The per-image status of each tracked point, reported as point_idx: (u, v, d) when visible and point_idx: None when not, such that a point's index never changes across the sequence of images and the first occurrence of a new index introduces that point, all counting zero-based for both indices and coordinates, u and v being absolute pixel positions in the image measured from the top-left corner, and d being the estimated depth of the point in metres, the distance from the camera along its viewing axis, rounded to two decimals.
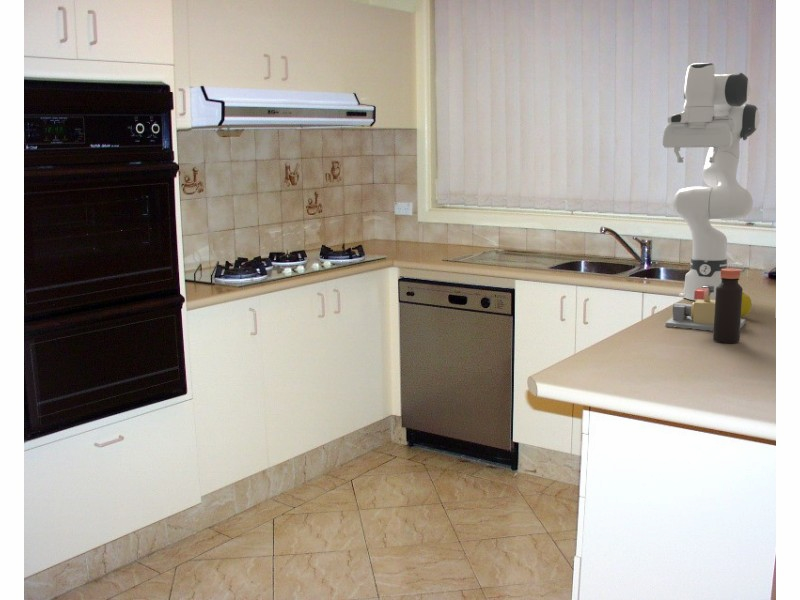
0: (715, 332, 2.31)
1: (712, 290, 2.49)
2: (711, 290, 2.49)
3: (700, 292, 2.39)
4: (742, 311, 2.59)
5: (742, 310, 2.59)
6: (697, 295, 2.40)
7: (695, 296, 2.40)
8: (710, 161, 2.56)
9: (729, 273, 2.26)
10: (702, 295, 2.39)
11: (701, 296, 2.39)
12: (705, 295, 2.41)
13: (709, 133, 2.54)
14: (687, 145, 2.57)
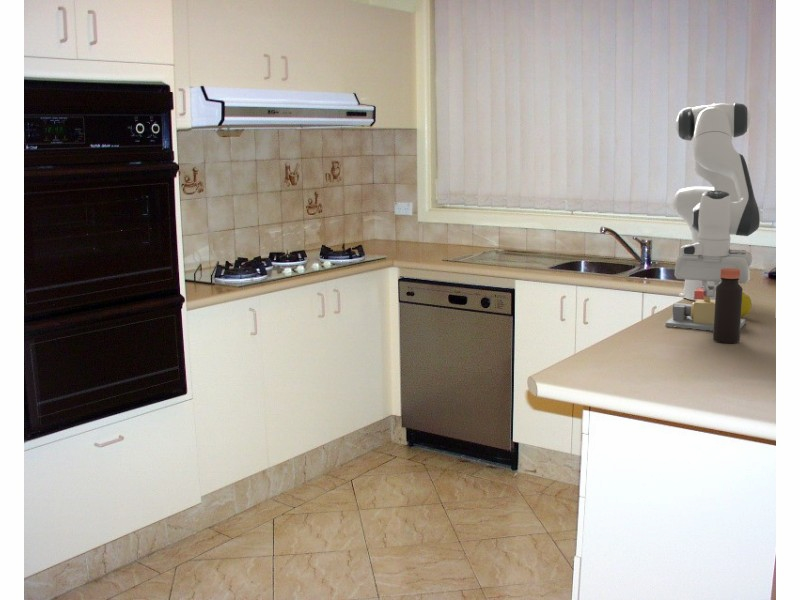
0: (715, 332, 2.31)
1: None
2: None
3: (700, 292, 2.39)
4: (742, 311, 2.59)
5: (742, 310, 2.59)
6: (697, 295, 2.40)
7: (695, 296, 2.40)
8: (710, 295, 2.40)
9: (729, 273, 2.26)
10: (702, 295, 2.39)
11: (701, 296, 2.39)
12: None
13: None
14: (701, 278, 2.39)
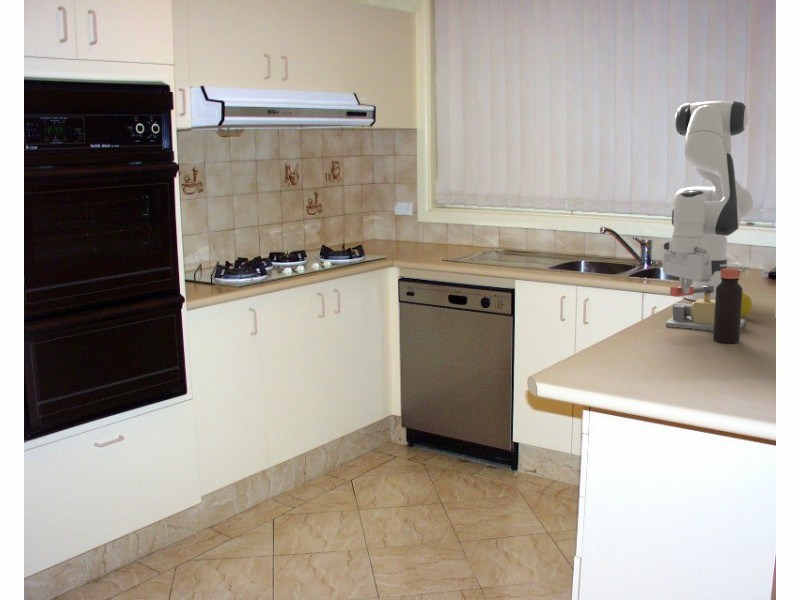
0: (715, 332, 2.31)
1: (708, 290, 2.49)
2: (707, 290, 2.49)
3: (673, 288, 2.45)
4: (742, 311, 2.59)
5: (742, 310, 2.59)
6: (672, 291, 2.46)
7: (670, 292, 2.47)
8: (682, 291, 2.45)
9: (729, 273, 2.26)
10: (675, 292, 2.45)
11: (674, 292, 2.45)
12: None
13: (689, 265, 2.39)
14: (676, 274, 2.46)
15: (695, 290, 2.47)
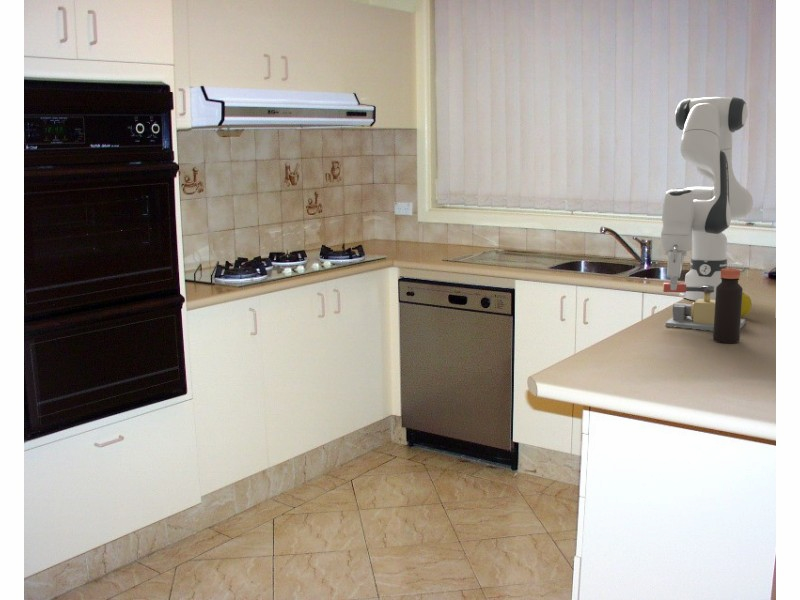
0: (715, 332, 2.31)
1: (705, 290, 2.49)
2: (703, 290, 2.49)
3: (663, 284, 2.53)
4: (742, 311, 2.59)
5: (742, 310, 2.59)
6: (663, 287, 2.53)
7: None
8: None
9: (729, 273, 2.26)
10: (663, 287, 2.52)
11: (663, 288, 2.52)
12: None
13: None
14: None
15: (689, 288, 2.50)
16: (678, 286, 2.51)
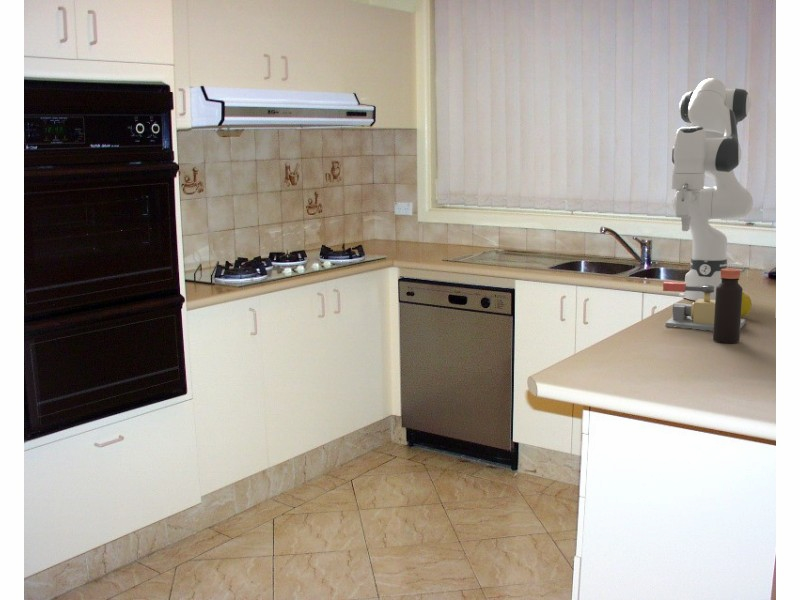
0: (715, 332, 2.31)
1: (704, 290, 2.49)
2: (703, 290, 2.49)
3: None
4: (742, 311, 2.59)
5: (742, 310, 2.59)
6: None
7: None
8: None
9: (729, 273, 2.26)
10: (663, 286, 2.54)
11: (663, 287, 2.54)
12: (671, 288, 2.53)
13: None
14: None
15: (688, 288, 2.51)
16: (677, 285, 2.52)
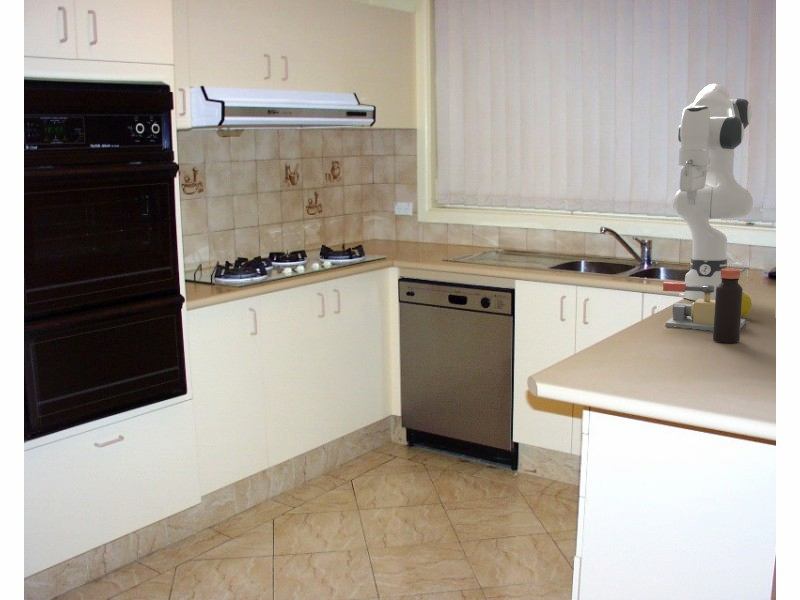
0: (715, 332, 2.31)
1: (704, 290, 2.49)
2: (703, 290, 2.49)
3: None
4: (742, 311, 2.59)
5: (742, 310, 2.59)
6: None
7: None
8: None
9: (729, 273, 2.26)
10: (663, 286, 2.54)
11: (663, 287, 2.54)
12: (671, 288, 2.53)
13: None
14: None
15: (688, 288, 2.51)
16: (677, 285, 2.52)
